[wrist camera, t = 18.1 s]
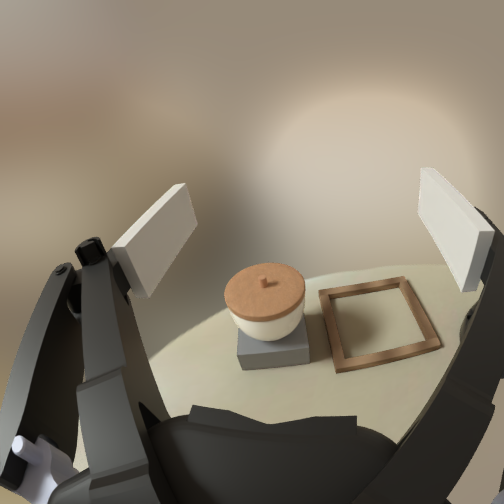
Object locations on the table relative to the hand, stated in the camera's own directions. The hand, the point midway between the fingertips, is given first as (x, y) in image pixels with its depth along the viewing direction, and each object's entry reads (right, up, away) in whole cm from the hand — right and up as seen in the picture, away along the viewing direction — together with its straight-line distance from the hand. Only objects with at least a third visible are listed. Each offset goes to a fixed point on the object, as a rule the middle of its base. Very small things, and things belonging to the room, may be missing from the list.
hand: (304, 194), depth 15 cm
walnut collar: (+18, -14, +28) cm, 36 cm away
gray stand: (+1, -17, +29) cm, 34 cm away
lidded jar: (0, -14, +27) cm, 30 cm away
